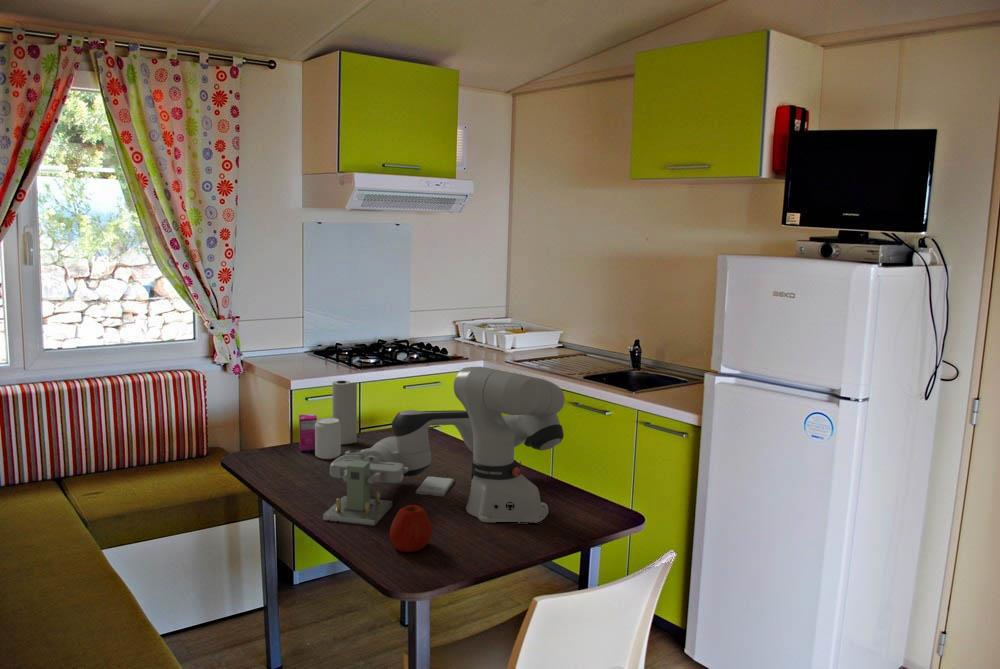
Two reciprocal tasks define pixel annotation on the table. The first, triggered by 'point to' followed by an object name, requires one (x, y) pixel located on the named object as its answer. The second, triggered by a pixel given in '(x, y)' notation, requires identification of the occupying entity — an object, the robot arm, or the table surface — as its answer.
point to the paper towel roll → (346, 409)
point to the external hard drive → (435, 486)
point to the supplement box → (307, 432)
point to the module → (357, 485)
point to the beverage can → (327, 438)
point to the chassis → (366, 517)
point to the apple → (411, 529)
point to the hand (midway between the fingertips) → (357, 480)
